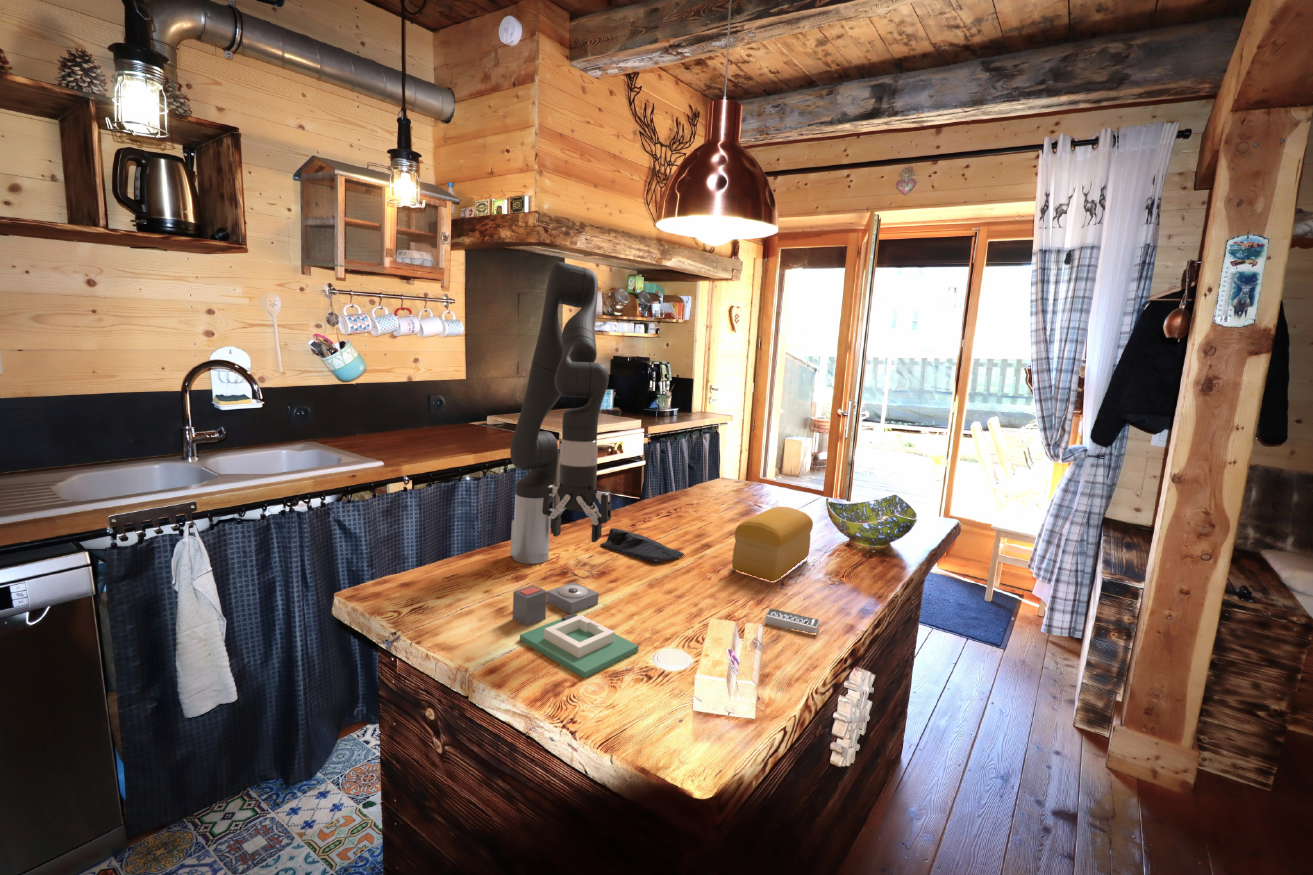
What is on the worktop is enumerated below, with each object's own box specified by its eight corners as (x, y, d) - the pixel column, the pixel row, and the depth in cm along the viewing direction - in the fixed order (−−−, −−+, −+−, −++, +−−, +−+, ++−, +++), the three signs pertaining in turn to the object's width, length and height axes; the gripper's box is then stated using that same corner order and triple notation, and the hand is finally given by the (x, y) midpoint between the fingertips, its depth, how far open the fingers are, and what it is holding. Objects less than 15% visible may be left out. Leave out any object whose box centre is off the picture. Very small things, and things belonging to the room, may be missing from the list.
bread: (767, 549, 185) (773, 500, 182) (809, 560, 178) (815, 510, 175) (729, 571, 165) (735, 516, 162) (774, 584, 158) (781, 528, 155)
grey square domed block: (546, 601, 137) (547, 588, 136) (573, 592, 143) (574, 579, 143) (571, 614, 132) (571, 600, 131) (597, 603, 138) (598, 590, 138)
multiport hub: (768, 617, 139) (770, 607, 139) (818, 629, 135) (820, 619, 135) (764, 625, 135) (765, 615, 135) (815, 637, 131) (816, 627, 131)
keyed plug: (512, 618, 128) (513, 590, 127) (534, 610, 132) (536, 583, 131) (526, 626, 125) (527, 597, 124) (548, 617, 130) (549, 589, 128)
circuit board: (519, 640, 119) (520, 624, 119) (573, 618, 130) (574, 604, 129) (584, 678, 108) (585, 661, 107) (638, 651, 119) (639, 635, 118)
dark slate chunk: (652, 570, 162) (653, 552, 161) (595, 546, 176) (596, 530, 176) (689, 557, 173) (691, 541, 172) (633, 536, 188) (634, 521, 187)
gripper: (618, 461, 127) (614, 538, 130) (554, 454, 131) (552, 528, 134) (604, 468, 120) (601, 548, 123) (538, 460, 124) (535, 538, 127)
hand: (575, 538), depth 128 cm, fingers open, 8 cm apart
